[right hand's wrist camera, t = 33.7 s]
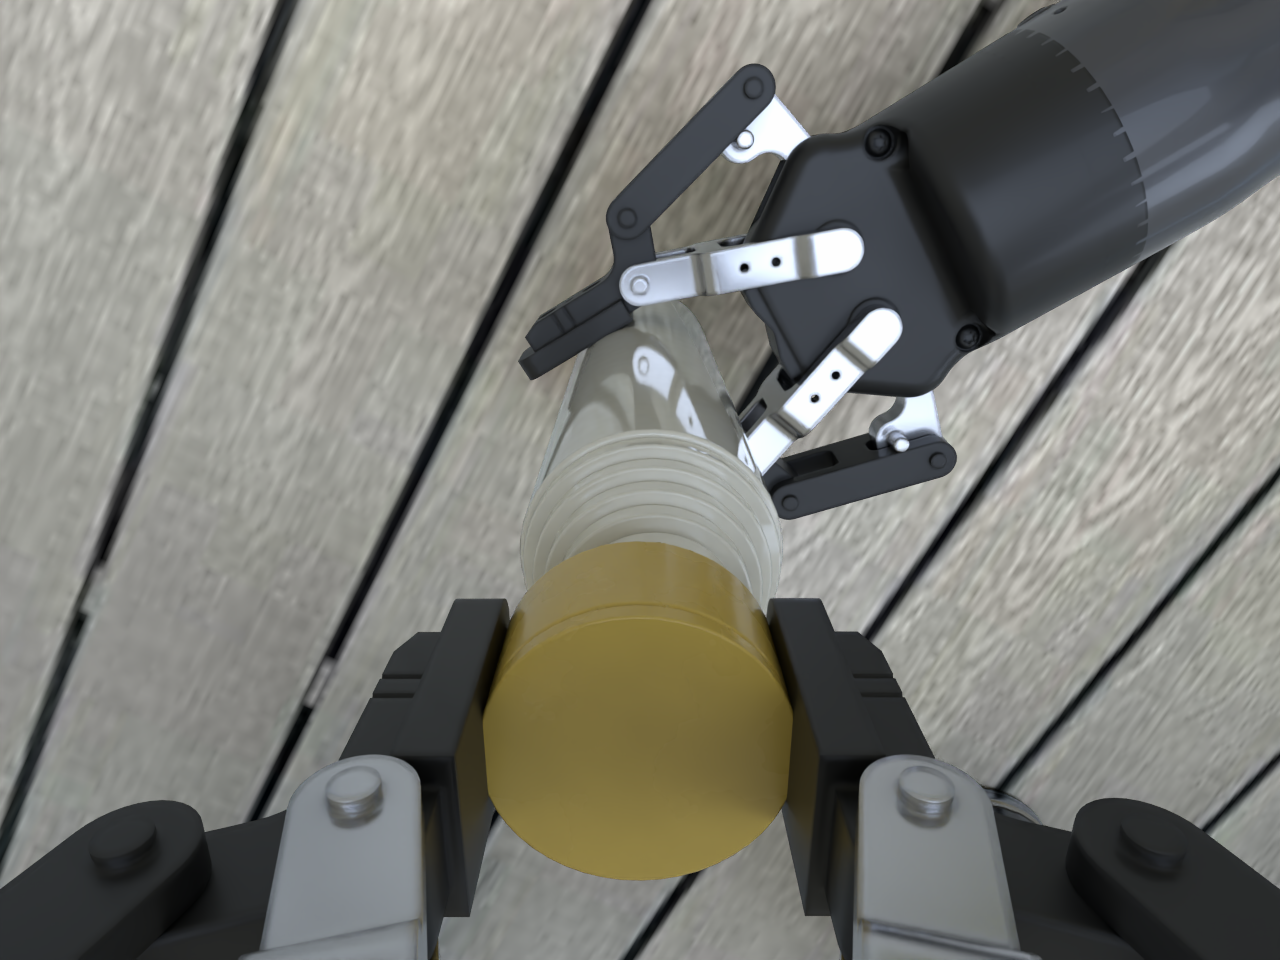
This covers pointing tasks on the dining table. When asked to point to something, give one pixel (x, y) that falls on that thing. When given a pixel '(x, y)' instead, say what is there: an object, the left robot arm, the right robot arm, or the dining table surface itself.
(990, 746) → the dining table surface
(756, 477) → the bottle
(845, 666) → the right robot arm
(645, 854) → the cap
